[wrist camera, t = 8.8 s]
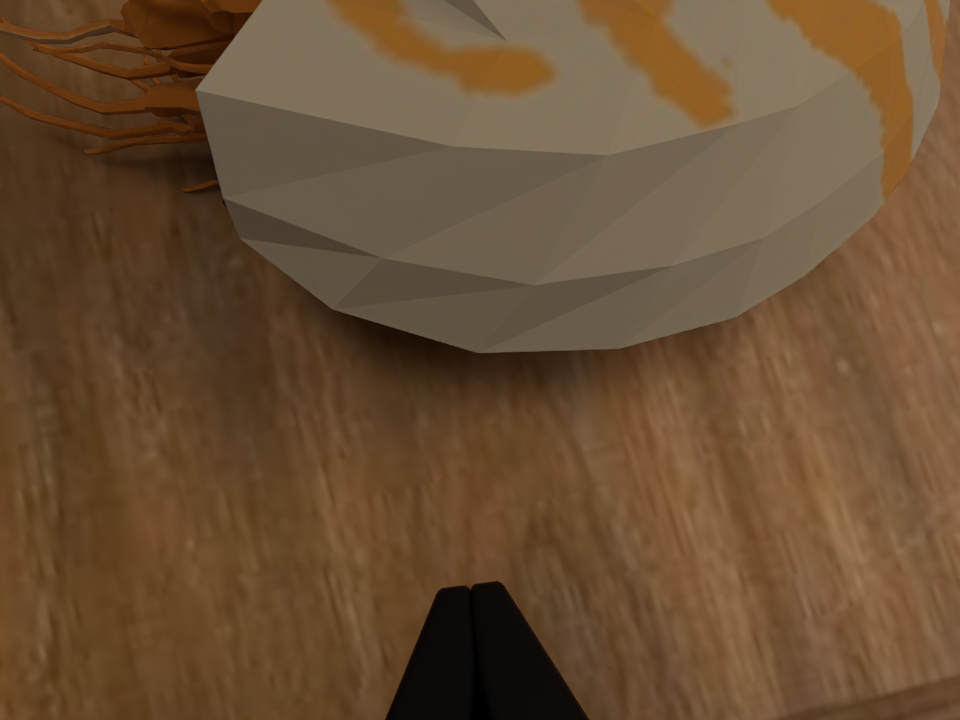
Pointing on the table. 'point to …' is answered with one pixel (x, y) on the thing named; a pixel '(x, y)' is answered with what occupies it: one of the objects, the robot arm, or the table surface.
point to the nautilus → (533, 148)
